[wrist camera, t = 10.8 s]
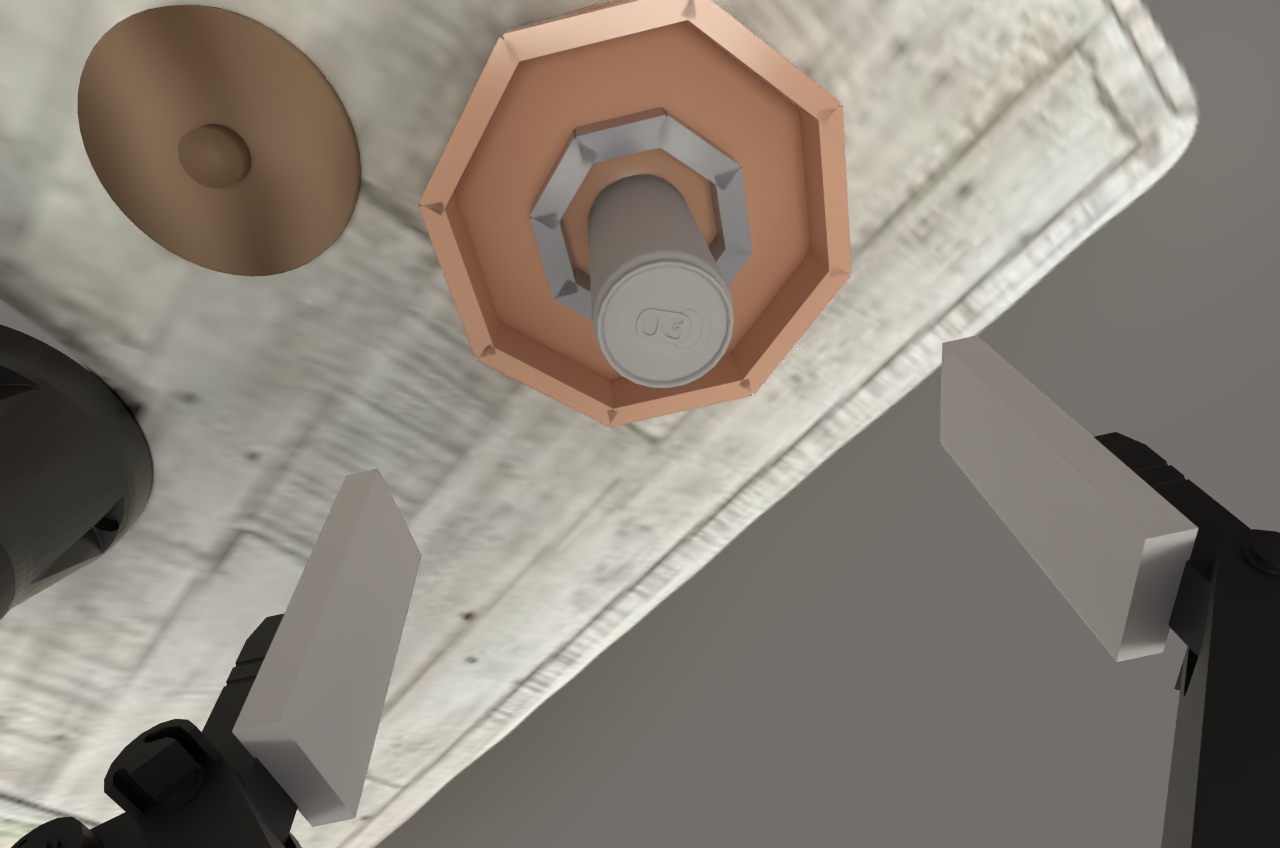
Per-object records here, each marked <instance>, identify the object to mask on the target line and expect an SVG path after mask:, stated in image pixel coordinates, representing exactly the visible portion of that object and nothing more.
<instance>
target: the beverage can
mask: <svg viewBox="0 0 1280 848" xmlns="http://www.w3.org/2000/svg"><path fill="white" fill-rule="evenodd" d="M588 240H589V263H590V285H591V306H592V325H593V329H594V333H595V337H596V341H597V344H598V345H599V347H600V348H601V351H602V353H603V354H604V356H605V358H606V359H607V361H608V363H609V364H610V365H611V366H612V367H613V368H614V369H615V370H616V371H617V372H618V373H619V374H620V375H621V376H623V377H625V378H627V379H628V380H630V381H632V382H634V383H636V384H640V385H644V386H647V387H651V388H671V387H676V386H680V385H685V384H688V383H690V382H692V381H694V380H696V379H698V378H700V377H702V376H703V375H704V374H706V373H707V372H708V371H709V370H711V369H712V368H713V367H714V366H715V365H716V364H717V363H718V361H719V360H720V359H721V357H722V356H723V355H724V354H725V352H726V349H727V347H728V345H729V342H730V340H731V338H732V330H733V323H734V320H733V314H734V311H733V304H732V298H731V293H730V291H729V289H728V287H727V285H726V283H725V281H724V278H723V276H722V274H721V272H720V270H719V268H718V266H717V264H716V262H715V260H714V258H713V256H712V254H711V252H710V250H709V248H708V246H707V244H706V242H705V240H704V238H703V236H702V234H701V232H700V230H699V228H698V226H697V224H696V222H695V220H694V218H693V216H692V213H691V211H690V209H689V207H688V205H687V203H686V201H685V199H684V197H683V196H682V195H681V193H680V192H679V191H678V190H677V189H676V188H675V186H673V185H672V184H670V183H669V182H667V181H666V180H664V179H662V178H659V177H656V176H653V175H634V176H630V177H627V178H623V179H620V180H618V181H616V182H614V183H612V184H610V185H609V186H608V187H606V188H605V189H604V190H603V191H602V192H601V193H600V194H599V195H598V197H597V198H596V200H595V201H594V203H593V205H592V207H591V211H590V214H589V218H588Z"/></svg>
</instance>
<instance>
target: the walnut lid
mask: <svg viewBox="0 0 1280 848" xmlns="http://www.w3.org/2000/svg"><path fill="white" fill-rule="evenodd" d="M78 118H79V125H80V131H81V135H82V139H83V143H84V147H85V150H86V152H87V155H88V157H89V160H90V162H91V165H92V167H93V169H94V171H95V172H96V174H97V176H98V178H99V180H100V182H101V184H102V185H103V187H104V188H105V190H106V191H107V193H108V194H109V195H110V197H111V198H112V200H113V201H114V202H115V203H116V205H117V206H118V207H119V208H120V209H121V211H122V212H123V213H124V214H125V215H126V216H127V217H128V218H129V219H130V220H131V221H132V222H133V223H134V224H135V225H136V226H137V227H138V228H139V229H140V230H141V231H143V232H144V233H145V234H146V235H147V236H149V237H150V238H151V239H152V240H154V241H155V242H157V243H158V244H160V245H161V246H163V247H164V248H166V249H167V250H169V251H170V252H172V253H174V254H176V255H178V256H180V257H181V258H183V259H185V260H187V261H190V262H192V263H194V264H197V265H199V266H202V267H205V268H208V269H211V270H215V271H218V272H223V273H228V274H233V275H242V276H267V275H273V274H279V273H284V272H287V271H290V270H293V269H296V268H298V267H300V266H302V265H305V264H307V263H309V262H310V261H312V260H313V259H315V258H316V257H318V256H319V255H320V254H321V253H323V252H324V251H325V250H326V249H327V248H328V247H329V246H330V245H331V244H332V243H333V242H334V241H335V240H336V239H337V237H338V236H339V235H340V234H341V232H342V231H343V230H344V228H345V227H346V225H347V223H348V221H349V220H350V218H351V216H352V214H353V211H354V208H355V205H356V203H357V199H358V194H359V189H360V176H361V167H360V154H359V149H358V144H357V140H356V136H355V133H354V130H353V127H352V124H351V121H350V118H349V116H348V114H347V112H346V110H345V108H344V106H343V103H342V102H341V100H340V98H339V97H338V95H337V93H336V92H335V90H334V88H333V87H332V85H331V84H330V83H329V81H328V80H327V79H326V77H325V76H324V75H323V74H322V72H321V71H320V70H319V69H318V68H317V67H316V65H315V64H314V63H313V62H312V61H311V60H310V59H309V58H308V57H307V56H306V55H305V54H304V53H303V52H301V51H300V50H299V49H298V48H297V47H296V46H295V45H293V44H292V43H291V42H290V41H288V40H287V39H285V38H284V37H283V36H281V35H280V34H278V33H277V32H275V31H274V30H272V29H270V28H268V27H267V26H265V25H263V24H261V23H259V22H257V21H256V20H253V19H251V18H248V17H246V16H243V15H241V14H238V13H235V12H232V11H228V10H224V9H220V8H216V7H208V6H200V5H179V6H166V7H160V8H154V9H148V10H145V11H143V12H140V13H137V14H134V15H132V16H130V17H128V18H126V19H124V20H123V21H121V22H119V23H117V24H116V25H115V26H114V27H112V28H111V29H110V30H109V31H108V32H106V33H105V34H104V35H103V37H102V38H101V39H100V40H99V41H98V43H97V44H96V45H95V46H94V48H93V50H92V51H91V53H90V55H89V57H88V59H87V61H86V63H85V66H84V69H83V72H82V75H81V78H80V84H79V90H78Z"/></svg>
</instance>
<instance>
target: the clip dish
mask: <svg viewBox="0 0 1280 848" xmlns="http://www.w3.org/2000/svg"><path fill="white" fill-rule="evenodd" d="M840 103H841V102H840V101H839V100H837V99H836V98H835V97H833V96H832V95H831V94H830V93H828V92H827V91H826V90H825V89H823V88H822V87H821V86H819V85H818V84H817V83H816V82H814V81H813V80H812V79H811V78H809V77H808V76H807V75H806V74H804V73H803V72H802V71H800V70H799V69H798V68H797V67H795V66H794V65H793V64H792V63H790V62H789V61H788V60H787V59H785V58H784V57H783V56H781V55H780V54H779V53H778V52H776V51H775V50H774V49H773V48H771V47H770V46H769V45H768V44H766V43H765V42H764V41H762V40H761V39H760V38H759V37H757V36H756V35H755V34H754V33H752V32H751V31H750V30H749V29H747V28H746V27H745V26H743V25H742V24H741V23H740V22H738V21H737V20H736V19H735V18H733V17H732V16H731V15H730V14H728V13H727V12H726V11H724V10H723V9H722V8H721V7H719V6H718V5H717V4H716V3H714V2H713V1H712V0H619V1H613V2H607V3H601V4H595V5H592V6H589V7H586V8H583V9H580V10H576V11H573V12H570V13H567V14H565V15H562V16H558V17H554V18H550V19H546V20H542V21H538V22H534V23H530V24H526V25H522V26H518V27H514V28H511V29H509V30H508V31H506V32H505V33H504V34H503V35H501V36H500V37H499V39H498V41H497V43H496V45H495V47H494V49H493V51H492V53H491V55H490V57H489V59H488V61H487V63H486V66H485V68H484V70H483V72H482V74H481V76H480V78H479V80H478V82H477V84H476V86H475V88H474V90H473V92H472V94H471V96H470V98H469V100H468V103H467V105H466V107H465V109H464V111H463V113H462V115H461V117H460V119H459V121H458V123H457V125H456V127H455V129H454V131H453V133H452V135H451V138H450V140H449V142H448V144H447V146H446V148H445V150H444V152H443V154H442V156H441V158H440V160H439V162H438V164H437V166H436V168H435V170H434V172H433V175H432V177H431V179H430V181H429V183H428V185H427V187H426V189H425V191H424V193H423V195H422V197H421V199H420V201H419V204H420V206H419V209H420V212H421V215H422V217H423V220H424V223H425V225H426V228H427V231H428V233H429V236H430V239H431V241H432V244H433V247H434V249H435V252H436V255H437V257H438V260H439V263H440V265H441V268H442V271H443V273H444V276H445V279H446V281H447V284H448V286H449V289H450V292H451V294H452V297H453V300H454V302H455V305H456V308H457V310H458V313H459V316H460V318H461V321H462V324H463V326H464V329H465V332H466V334H467V337H468V340H469V342H470V345H471V348H472V350H473V353H474V356H475V358H478V361H479V362H481V363H483V364H485V365H487V366H489V367H491V368H493V369H495V370H497V371H499V372H501V373H503V374H505V375H507V376H509V377H511V378H513V379H515V380H517V381H519V382H521V383H523V384H525V385H527V386H529V387H531V388H533V389H535V390H537V391H539V392H541V393H543V394H545V395H547V396H549V397H551V398H553V399H555V400H557V401H559V402H561V403H563V404H565V405H567V406H569V407H571V408H573V409H575V410H577V411H579V412H581V413H583V414H585V415H587V416H589V417H591V418H593V419H595V420H597V421H599V422H601V423H603V424H604V425H606V426H609V425H610V423H611V427H613V426H617V425H622V424H626V423H631V422H635V421H640V420H644V419H649V418H653V417H658V416H663V415H667V414H672V413H676V412H681V411H685V410H690V409H694V408H699V407H703V406H708V405H712V404H717V403H721V402H726V401H730V400H735V399H739V398H744V397H749V396H752V394H751V392H752V393H753V394H755V393H756V392H757V390H758V389H759V388H760V387H761V386H762V384H763V383H764V382H765V381H766V379H767V378H768V377H769V376H770V374H771V373H772V372H773V371H774V369H775V368H776V367H777V366H778V365H779V363H780V362H781V361H782V360H783V358H784V357H785V356H786V355H787V353H788V352H789V351H790V350H791V349H792V347H793V346H794V345H795V344H796V342H797V341H798V340H799V339H800V337H801V336H802V335H803V334H804V332H805V331H806V330H807V329H808V328H809V326H810V325H811V324H812V323H813V321H814V320H815V319H816V318H817V316H818V315H819V314H820V313H821V311H822V310H823V309H824V308H825V307H826V305H827V304H828V303H829V302H830V300H831V299H832V298H833V297H834V295H835V294H836V293H837V292H838V291H839V289H840V288H841V287H842V286H843V284H844V283H845V282H846V281H847V279H848V278H849V277H850V275H849V274H848V273H851V255H850V237H849V218H848V199H847V181H846V162H845V143H844V124H843V106H842V105H840ZM634 175H653V176H656V177H659V178H662V179H664V180H666V181H667V182H669V183H670V184H672V185H673V186H675V188H676V189H677V190H678V191H679V192H680V193H681V195H682V196H683V197H684V199H685V201H686V203H687V205H688V207H689V209H690V211H691V213H692V216H693V218H694V220H695V222H696V224H697V226H698V228H699V230H700V232H701V234H702V236H703V238H704V240H705V242H706V244H707V246H708V248H709V250H710V252H711V254H712V256H713V258H714V260H715V262H716V264H717V266H718V268H719V270H720V272H721V274H722V276H723V278H724V281H725V283H726V285H727V287H728V289H729V291H730V293H731V298H732V304H733V311H734V314H733V320H734V323H733V330H732V338H731V340H730V342H729V345H728V347H727V349H726V352H725V354H724V355H723V356H722V357H721V359H720V360H719V361H718V363H717V364H716V365H715V366H714V367H713V368H712V369H711V370H709V371H708V372H707V373H706V374H704V375H703V376H702V377H700V378H698V379H696V380H694V381H692V382H690V383H688V384H685V385H680V386H676V387H671V388H651V387H647V386H644V385H640V384H636V383H634V382H632V381H630V380H628V379H627V378H625V377H623V376H621V375H620V374H619V373H618V372H617V371H616V370H615V369H614V368H613V367H612V366H611V365H610V364H609V363H608V361H607V359H606V358H605V356H604V354H603V353H602V351H601V348H600V347H599V345H598V344H597V341H596V337H595V333H594V329H593V325H592V306H591V285H590V263H589V240H588V218H589V214H590V211H591V207H592V205H593V203H594V201H595V200H596V198H597V197H598V195H599V194H600V193H601V192H602V191H603V190H604V189H605V188H606V187H608V186H609V185H610V184H612V183H614V182H616V181H618V180H620V179H623V178H627V177H630V176H634Z"/></svg>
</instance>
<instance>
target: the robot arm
mask: <svg viewBox="0 0 1280 848" xmlns="http://www.w3.org/2000/svg"><path fill="white" fill-rule="evenodd" d="M940 422H941V423H940V444H941V445H942V446H943V447H944V448H945V450H946V451H947V452H948V453H949V455H950V456H951V457H952V458H953V460H954V461H955V462H956V463H957V465H958V466H959V467H960V468H961V470H962V471H963V472H964V473H965V474H966V475H967V477H968V478H969V479H970V481H971V482H972V483H973V484H974V486H975V487H976V488H977V489H978V491H979V492H980V493H981V494H982V496H983V497H984V498H985V499H986V500H987V502H988V503H989V504H990V505H991V507H992V508H993V509H994V510H995V512H996V513H997V514H998V515H999V517H1000V518H1001V519H1002V520H1003V522H1004V523H1005V524H1006V525H1007V527H1008V528H1009V529H1010V530H1011V531H1012V533H1013V534H1014V535H1015V536H1016V538H1017V539H1018V540H1019V541H1020V543H1021V544H1022V545H1023V546H1024V547H1025V549H1026V550H1027V551H1028V553H1029V554H1030V555H1031V556H1032V558H1033V559H1034V560H1035V561H1036V562H1037V564H1038V565H1039V566H1040V567H1041V569H1042V570H1043V571H1044V572H1045V574H1046V575H1047V576H1048V577H1049V579H1050V580H1051V581H1052V582H1053V584H1054V585H1055V586H1056V587H1057V588H1058V590H1059V591H1060V592H1061V593H1062V595H1063V596H1064V597H1065V598H1066V600H1067V601H1068V602H1069V603H1070V605H1071V606H1072V607H1073V608H1074V610H1075V611H1076V612H1077V613H1078V614H1079V616H1080V617H1081V618H1082V619H1083V621H1084V622H1085V623H1086V624H1087V626H1088V627H1089V628H1090V629H1091V631H1092V632H1093V633H1094V634H1095V636H1096V637H1097V638H1098V639H1099V640H1100V642H1101V643H1102V644H1103V645H1104V647H1105V648H1106V649H1107V650H1108V652H1109V653H1110V654H1111V655H1112V657H1113V658H1114V659H1115V660H1116V661H1117V662H1118V661H1123V660H1128V659H1133V658H1137V657H1142V656H1147V655H1152V654H1157V653H1162V652H1163V650H1164V647H1165V643H1166V640H1167V636H1168V633H1169V629H1170V628H1171V629H1172V630H1173V631H1174V632H1175V633H1176V634H1177V635H1178V636H1179V637H1180V638H1181V639H1182V640H1183V641H1184V643H1185V644H1186V645H1187V646H1188V647H1187V651H1186V654H1185V657H1184V660H1183V664H1182V667H1181V670H1180V673H1179V677H1178V680H1177V683H1176V686H1175V689H1176V690H1180V695H1179V705H1178V712H1177V720H1176V728H1175V737H1174V745H1173V753H1172V761H1171V770H1170V779H1169V786H1168V796H1167V804H1166V811H1165V819H1164V828H1163V837H1162V845H1161V848H1280V533H1279V532H1275V531H1265V530H1255V529H1253V530H1251V529H1250V528H1249V527H1248V526H1246V525H1245V524H1244V523H1243V522H1241V521H1240V520H1238V518H1236V517H1235V516H1234V515H1233V514H1231V513H1230V512H1229V511H1227V510H1226V509H1225V508H1224V507H1223V506H1221V505H1220V504H1219V503H1218V502H1216V501H1215V500H1213V498H1211V497H1210V496H1209V495H1208V494H1206V493H1205V492H1204V491H1203V490H1201V489H1200V488H1199V487H1198V486H1196V485H1195V484H1194V483H1193V482H1191V481H1190V480H1189V479H1188V480H1185V478H1184V475H1183V474H1181V473H1180V472H1179V471H1178V470H1176V469H1175V468H1174V467H1173V466H1171V465H1169V466H1168V465H1167V462H1166V461H1165V460H1164V459H1162V457H1160V456H1159V455H1158V454H1157V453H1155V452H1154V451H1153V450H1151V449H1150V448H1149V447H1148V446H1147V445H1145V444H1143V443H1140V442H1138V441H1135V440H1133V439H1131V438H1129V437H1126V436H1124V435H1122V434H1119V433H1117V432H1114V433H1109V434H1105V435H1100V436H1095V437H1093V436H1092V435H1091V434H1089V433H1088V432H1087V431H1086V430H1085V429H1084V428H1083V427H1081V426H1080V425H1079V424H1078V423H1077V422H1075V421H1074V420H1073V419H1072V418H1071V417H1070V416H1069V415H1068V414H1066V413H1065V412H1064V411H1063V410H1062V409H1061V408H1059V407H1058V406H1057V405H1056V404H1055V403H1054V402H1052V401H1051V400H1050V399H1049V398H1048V397H1047V396H1046V395H1044V394H1043V393H1042V392H1041V391H1040V390H1039V389H1038V388H1036V387H1035V386H1034V385H1033V384H1032V383H1030V382H1029V381H1028V380H1027V379H1026V378H1025V377H1024V376H1023V375H1021V374H1020V373H1019V372H1018V371H1017V370H1016V369H1014V368H1013V367H1012V366H1011V365H1010V364H1009V363H1008V362H1006V361H1005V360H1004V359H1003V358H1002V357H1001V356H999V355H998V354H997V353H996V352H995V351H994V350H993V349H991V348H990V347H989V346H988V345H987V344H985V343H984V342H983V341H982V340H981V339H980V338H979V337H978V336H972V337H968V338H963V339H959V340H954V341H950V342H945V343H942V381H941V420H940ZM151 485H152V466H151V460H150V456H149V452H148V448H147V446H146V443H145V440H144V438H143V436H142V434H141V432H140V430H139V428H138V426H137V424H136V423H135V421H134V420H133V418H132V417H131V415H130V414H129V412H128V411H127V410H126V408H125V407H124V406H123V404H122V403H121V402H120V401H119V400H118V399H117V397H116V396H115V395H114V394H113V393H112V392H111V391H110V390H109V389H108V388H107V387H106V386H105V385H104V384H103V383H102V382H101V381H100V380H99V379H97V378H96V377H95V376H94V375H93V374H91V373H90V372H89V371H88V370H86V369H85V368H84V367H82V366H81V365H80V364H78V363H77V362H75V361H74V360H72V359H71V358H69V357H68V356H66V355H65V354H63V353H62V352H60V351H58V350H56V349H55V348H53V347H51V346H49V345H47V344H46V343H44V342H42V341H40V340H38V339H35V338H33V337H31V336H29V335H27V334H24V333H22V332H19V331H17V330H14V329H12V328H9V327H6V326H3V325H0V619H1V618H3V616H4V615H5V614H6V613H7V612H8V611H9V610H10V609H11V608H13V607H15V606H16V605H18V604H20V603H21V602H23V601H25V600H27V599H28V598H30V597H32V596H34V595H35V594H37V593H39V592H40V591H42V590H44V589H46V588H47V587H49V586H51V585H53V584H54V583H56V582H58V581H59V580H61V579H63V578H65V577H66V576H68V575H70V574H72V573H73V572H75V571H77V570H79V569H80V568H82V567H84V566H85V565H87V564H89V563H91V562H92V561H94V560H96V559H97V558H99V557H100V556H102V555H103V554H104V553H106V552H107V551H108V550H109V549H110V548H112V547H113V546H114V545H115V544H116V543H117V542H118V541H119V540H120V538H121V537H122V536H123V535H124V534H125V532H126V531H127V530H128V529H129V527H130V526H131V525H132V524H133V523H134V521H135V520H136V519H137V518H138V517H139V515H140V514H141V512H142V511H143V509H144V507H145V505H146V503H147V501H148V498H149V495H150V491H151ZM421 556H422V555H421V553H420V551H419V549H418V547H417V545H416V543H415V541H414V539H413V537H412V535H411V533H410V531H409V529H408V527H407V525H406V523H405V521H404V519H403V517H402V515H401V513H400V511H399V509H398V507H397V505H396V503H395V501H394V499H393V497H392V495H391V493H390V491H389V489H388V487H387V485H386V483H385V481H384V479H383V477H382V475H381V473H380V471H379V469H374V470H370V471H365V472H361V473H356V474H352V475H347V476H346V477H345V479H344V482H343V484H342V486H341V488H340V491H339V493H338V495H337V497H336V499H335V502H334V504H333V506H332V508H331V511H330V513H329V515H328V517H327V520H326V522H325V524H324V526H323V529H322V531H321V533H320V535H319V538H318V540H317V542H316V544H315V547H314V549H313V551H312V553H311V556H310V558H309V560H308V562H307V564H306V567H305V569H304V571H303V573H302V576H301V578H300V580H299V582H298V585H297V587H296V589H295V591H294V594H293V596H292V598H291V600H290V603H289V605H288V607H287V609H286V612H285V613H284V614H279V615H275V616H270V617H266V619H265V620H264V621H263V622H262V623H261V624H260V625H259V626H258V628H257V629H256V630H255V631H254V632H253V633H252V634H251V635H250V637H249V638H248V639H247V640H246V642H245V644H244V646H243V648H242V650H241V653H240V655H239V657H238V659H237V661H236V667H234V668H233V669H232V671H231V673H230V675H229V677H228V679H227V681H226V682H227V686H225V687H224V688H223V690H222V692H221V694H220V696H219V698H218V700H217V702H216V704H215V706H214V708H213V710H212V712H211V714H210V716H209V718H208V720H207V723H206V725H205V727H204V729H203V731H202V733H201V731H200V730H199V729H198V728H197V727H196V726H195V725H194V724H193V723H191V722H190V721H189V720H184V719H173V720H170V721H167V722H163V723H160V724H158V725H156V726H154V727H152V728H151V729H149V730H147V731H145V732H144V733H142V734H140V735H139V736H138V737H137V738H136V739H134V740H133V741H132V742H131V743H130V744H129V745H127V746H126V747H125V748H124V749H123V750H122V752H121V753H120V754H119V755H118V756H117V758H116V759H115V760H114V761H113V763H112V764H111V766H110V768H109V770H108V772H107V775H106V777H105V779H104V792H105V793H106V794H107V795H108V796H109V797H110V798H111V799H112V800H113V801H115V802H116V803H117V804H118V805H119V806H120V807H121V808H122V809H123V810H124V811H125V813H123V814H121V815H119V816H117V817H115V818H113V819H111V820H109V821H107V822H104V823H102V824H100V825H98V826H96V827H94V828H92V829H90V830H89V829H88V828H87V827H86V826H85V825H84V824H82V823H81V822H80V821H78V820H76V819H75V818H73V817H63V818H56V819H54V820H51V821H49V822H47V823H44V824H42V825H40V826H38V827H37V828H35V829H34V830H32V831H31V832H29V833H28V834H26V835H25V836H24V837H22V838H21V839H20V840H19V841H18V842H16V843H15V844H14V845H13V846H12V847H11V848H301V846H300V844H299V842H298V841H297V840H296V838H295V837H294V836H293V835H292V834H291V833H290V829H291V826H292V823H293V820H294V817H295V814H296V811H297V809H298V810H299V811H300V813H301V814H302V815H303V816H304V817H305V818H306V820H307V821H308V822H309V823H310V824H311V826H312V827H314V826H319V825H323V824H328V823H333V822H338V821H343V820H348V819H353V818H355V817H356V813H357V809H358V805H359V801H360V797H361V793H362V789H363V785H364V781H365V777H366V773H367V769H368V765H369V762H370V758H371V754H372V750H373V746H374V742H375V738H376V734H377V730H378V726H379V722H380V718H381V714H382V710H383V706H384V702H385V698H386V694H387V690H388V686H389V682H390V678H391V675H392V671H393V667H394V663H395V659H396V655H397V651H398V647H399V643H400V639H401V635H402V631H403V627H404V623H405V619H406V615H407V611H408V607H409V603H410V599H411V595H412V591H413V587H414V584H415V580H416V576H417V572H418V568H419V564H420V560H421Z"/></svg>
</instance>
